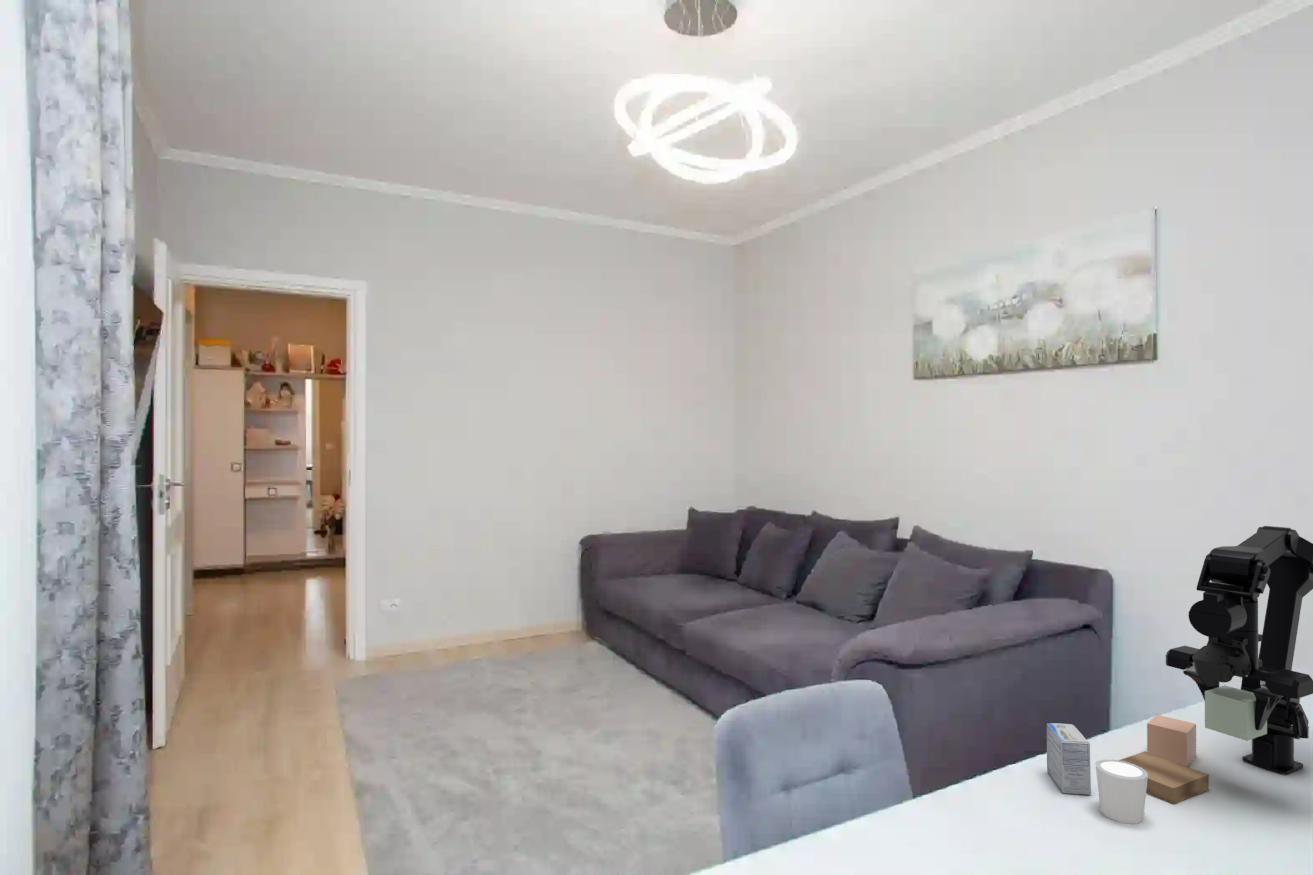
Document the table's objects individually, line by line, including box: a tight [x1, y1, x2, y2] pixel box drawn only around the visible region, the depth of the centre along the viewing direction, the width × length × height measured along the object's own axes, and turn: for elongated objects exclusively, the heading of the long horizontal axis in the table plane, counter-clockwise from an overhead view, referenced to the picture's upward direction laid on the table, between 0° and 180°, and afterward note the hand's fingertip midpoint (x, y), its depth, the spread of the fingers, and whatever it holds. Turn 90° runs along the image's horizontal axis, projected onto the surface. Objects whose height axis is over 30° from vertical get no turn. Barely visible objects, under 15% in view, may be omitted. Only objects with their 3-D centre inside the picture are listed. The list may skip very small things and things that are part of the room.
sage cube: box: [1204, 685, 1267, 742], centre depth 121 cm, size 6×6×6 cm
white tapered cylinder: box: [1095, 759, 1148, 825], centre depth 114 cm, size 7×7×7 cm
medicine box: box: [1046, 722, 1092, 796], centre depth 124 cm, size 8×4×9 cm, turn 168°
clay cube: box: [1146, 714, 1197, 767], centre depth 134 cm, size 6×6×6 cm
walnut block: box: [1119, 750, 1210, 805], centre depth 124 cm, size 10×10×2 cm
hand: (1235, 722), depth 121 cm, fingers closed on sage cube, 6 cm apart
